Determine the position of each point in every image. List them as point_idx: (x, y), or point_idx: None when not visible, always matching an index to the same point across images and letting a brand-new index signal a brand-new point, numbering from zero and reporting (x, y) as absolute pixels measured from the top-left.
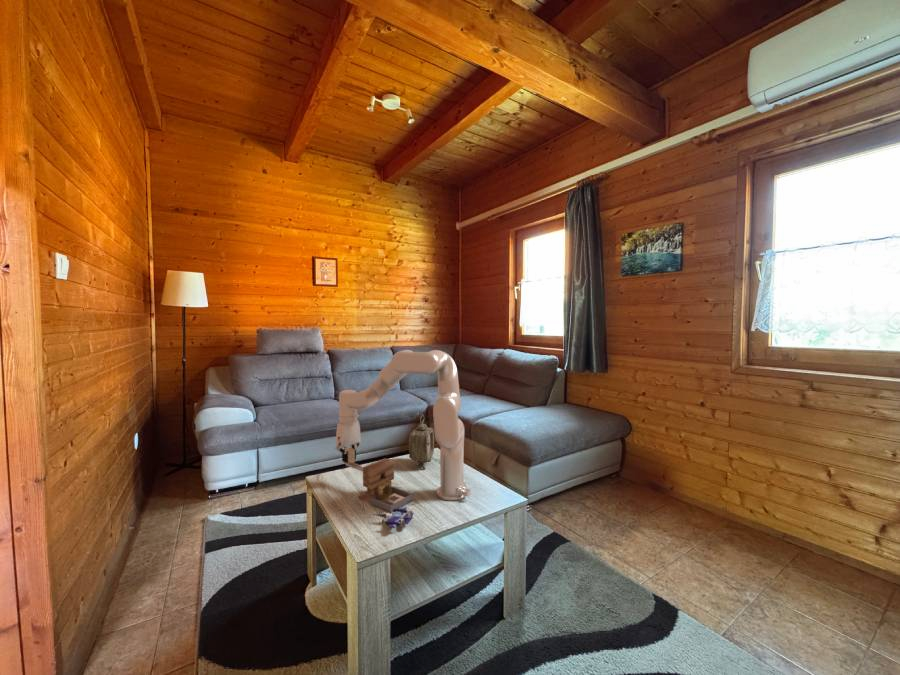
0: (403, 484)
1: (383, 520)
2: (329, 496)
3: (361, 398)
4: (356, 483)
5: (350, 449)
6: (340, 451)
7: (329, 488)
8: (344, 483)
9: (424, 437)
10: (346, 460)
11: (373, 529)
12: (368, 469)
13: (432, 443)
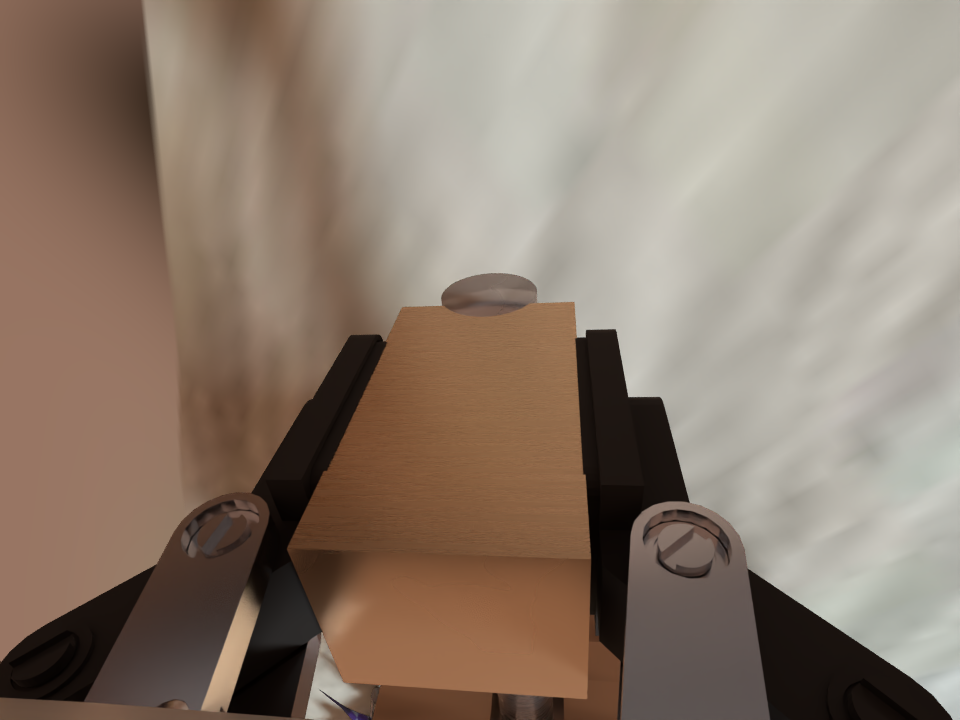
0: (813, 566)
1: (372, 707)
2: (231, 290)
3: None
4: (581, 258)
5: (468, 659)
6: (128, 611)
7: (286, 124)
8: (486, 145)
9: None
10: None
11: (316, 687)
12: None
13: None
